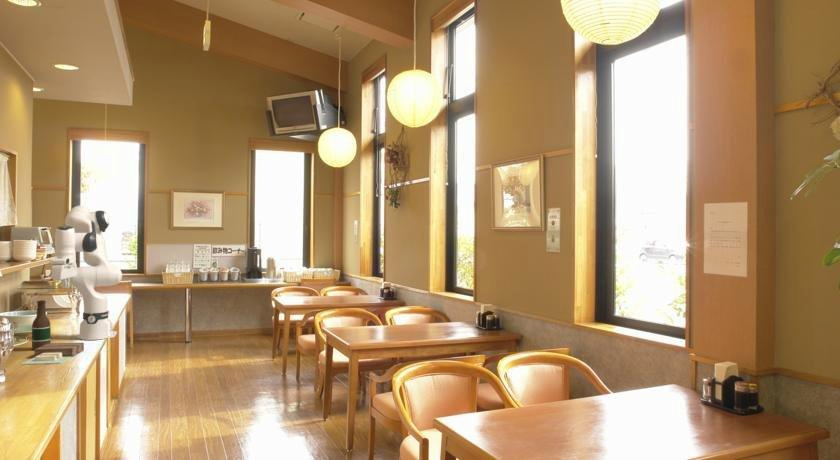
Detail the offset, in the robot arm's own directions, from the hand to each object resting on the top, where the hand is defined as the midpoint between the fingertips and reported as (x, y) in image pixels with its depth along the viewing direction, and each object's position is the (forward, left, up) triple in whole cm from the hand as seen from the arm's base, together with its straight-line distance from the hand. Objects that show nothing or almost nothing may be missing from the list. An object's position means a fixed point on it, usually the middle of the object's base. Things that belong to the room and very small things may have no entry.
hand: (65, 287), depth 287 cm
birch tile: (+17, 0, -31) cm, 35 cm away
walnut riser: (+6, 0, -31) cm, 32 cm away
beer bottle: (-8, -14, -31) cm, 35 cm away
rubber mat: (+19, 0, -31) cm, 37 cm away
